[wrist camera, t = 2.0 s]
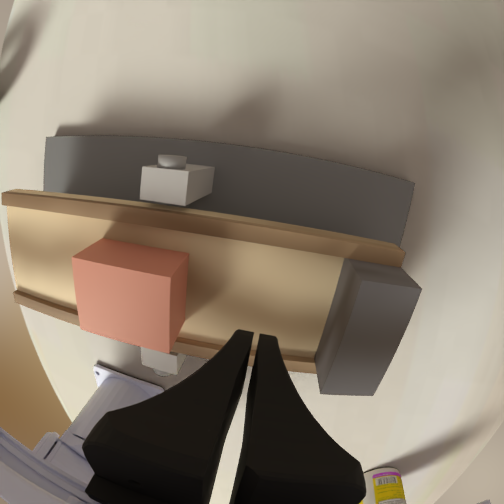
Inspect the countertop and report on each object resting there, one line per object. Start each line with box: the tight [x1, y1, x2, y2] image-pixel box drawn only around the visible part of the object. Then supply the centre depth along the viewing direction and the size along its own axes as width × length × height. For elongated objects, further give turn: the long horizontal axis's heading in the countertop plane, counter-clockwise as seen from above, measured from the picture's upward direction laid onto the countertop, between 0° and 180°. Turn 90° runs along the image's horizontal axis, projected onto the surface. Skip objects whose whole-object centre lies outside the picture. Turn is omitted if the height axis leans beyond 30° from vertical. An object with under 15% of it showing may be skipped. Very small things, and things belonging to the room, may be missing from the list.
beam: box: [2, 189, 422, 396], centre depth 14 cm, size 8×24×4 cm, turn 82°
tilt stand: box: [44, 136, 415, 376], centre depth 18 cm, size 15×27×6 cm, turn 82°
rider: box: [72, 238, 189, 354], centre depth 14 cm, size 4×5×3 cm
